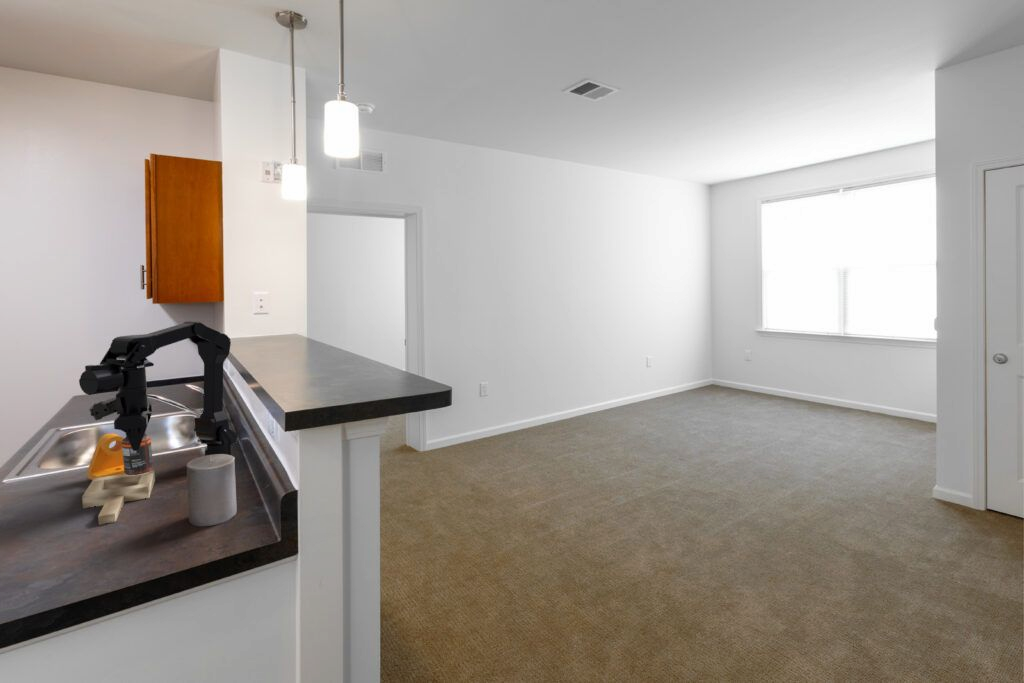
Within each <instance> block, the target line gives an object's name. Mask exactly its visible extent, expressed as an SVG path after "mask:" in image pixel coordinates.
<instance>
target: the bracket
mask: <svg viewBox="0 0 1024 683" xmlns="http://www.w3.org/2000/svg"><path fill="white" fill-rule="evenodd" d="M124 438H125V437H123V436H120V435H119V434H116V433H105V434H103V435H102V436H101V437H100V438H99V439H98V440H97V444H96V446H95V450H94V452H93V455H92V458H91V461H90V464H89V465H88V468H87V474H86V475H87V478H88V479H89V480H90V481H91V482H92V481H93V479H94V478H100V477H107V476H114V475H121V474H125V471H124V462H123V451H122V440H123V439H124ZM113 442H115V444H114V446H112V447H110V445H111V444H112V443H113Z"/></svg>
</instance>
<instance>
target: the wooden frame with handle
mask: <svg viewBox="0 0 1024 683" xmlns="http://www.w3.org/2000/svg"><path fill="white" fill-rule="evenodd" d="M155 482H156V475H155V469H152V470H151V471H149V472H146V473H143V474H139V475H127V474H121V475H114V476H107V477H100V478H94V479H93V481H92V480H91V482H90V484H89V486H87V488H86V489H85V492H84V493H83V494H82V496H81V497H82V498H81V500H82V509H89V507H90V508H95V507H94V506H96V507H101V506H102V509H101V510H100V512H99V514H98V516H97V517H98V521H97V522H98V525H99V526H100V525H106V523H107V524H113V523H116V522H117V520H118V517H119V515H120V513H121V510H122V509H123V507H124V504H125V503H126V501H127V502H132V501H139V500H145V498H146V499H150V496H151V494H152V491H153V488H154V484H155ZM121 508H122V509H121Z"/></svg>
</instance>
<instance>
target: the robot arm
mask: <svg viewBox="0 0 1024 683" xmlns="http://www.w3.org/2000/svg"><path fill="white" fill-rule="evenodd" d="M187 339H188V340H189V341H190V342H191V343H193V344H194V345H196V346H197V354H198V356H199V357H200V360H202V362H203V407H202V409H203V410H202V413H200V416H199V417H195V418H194V430H193V432H195V435H196V437H197V438H198V439H199V441H200V443H201V444H203V445H206V447H205V448H204V456H207V455H214V454H227V455H231V456H232V445H234V443H236V442H237V439H238V434H237V433H235V432H234V431H233V430H232V429H230V424H229V418H228V417H227V415H226V414H225V412H224V410H223V409H224V408H223V407H224V406H223V404H224V403H223V402H224V400H223V399H224V398H223V397H224V395H223V394H224V391H223V390H224V364H225V361H226V360H227V358H228V357H229V355H230V350H231V345H232V344H231V337H229V336H228V335H227V334H226V333H221V332H220V331H218V330H216V329H213V328H211V327H209V326H207V325H205V324H203V323H202V322H200V321H187V320H185V321H183V322H182V323H179V324H176V325H173V326H169V327H166V328H162V329H159V330H156V331H153V332H149V333H145V334H130V335H120V336H116V337H114V338H113V339H112V341H111V343H110V346H109V349H108V350H107V351H106V352H105V355H104V356H103V357H102V359H101V361H100V362H99V364H89V365H85V366H84V371H83V372H82V373H81V375H80V378H79V380H78V384H79V386H80V389H81V391H82V392H83V393H84V394H86V395H88V396H92V395H98V394H102V393H107V392H113V391H116V390H118V391H117V393H116V394H115V397H112V398H109V399H107V400H101V401H99V402H97V403H93V405H92V406H90V408H89V409H88V410H89V412H90V416H91V417H93V419H94V420H95V421H99V420H102V419H103V418H105V417H107V416H110V415H112V414H115V413H116V415H118V416H117V417H115V419H114V421H113V427H114V428H113V429H114V430H118V431H122V432H124V434H125V436H126V435H127V437H128V439H129V442H130V445H131V447H132V450H133V451H137V450H139V447H140V444H141V442H142V439H143V436H144V434H146V432H145V431H147V428H148V425H149V422H150V420H151V417H152V415H153V413H152V412H153V410H154V406H153V402H152V401H150V400H149V399H148V398H149V397H148V392H149V388H148V387H147V373H146V372H147V371H146V368H150V367H153V366H154V365H155V363H154V362H152V361H151V360H148V357H150V356H151V355H154V354H155V352H156V351H157V350H159V349H161V348H163V347H166V346H169V345H172V344H175V343H178V342H181V341H185V340H187ZM145 412H148V413H145Z"/></svg>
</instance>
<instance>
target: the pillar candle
mask: <svg viewBox="0 0 1024 683" xmlns="http://www.w3.org/2000/svg"><path fill="white" fill-rule="evenodd" d="M235 460H236V457H235V456H233V455H232V454H231V455H227V454H214V455H207V456H205V455H203V456H199V457H196V458H193V459H191V460H189V461H188V462H187V463H186V479H187V481H186V482H187V501H188V504H187V505H188V506H187V507H188V521H189V524H190V525H192V526H195V527H211V526H215V525H220V524H222V523H226V522H228V521H230V520H231V519H232V518H233V517H234V516H236V515H237V509H238V508H237V488H236V486H237V485H236V469H235V467H236V465H235V464H236V463H235Z"/></svg>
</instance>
